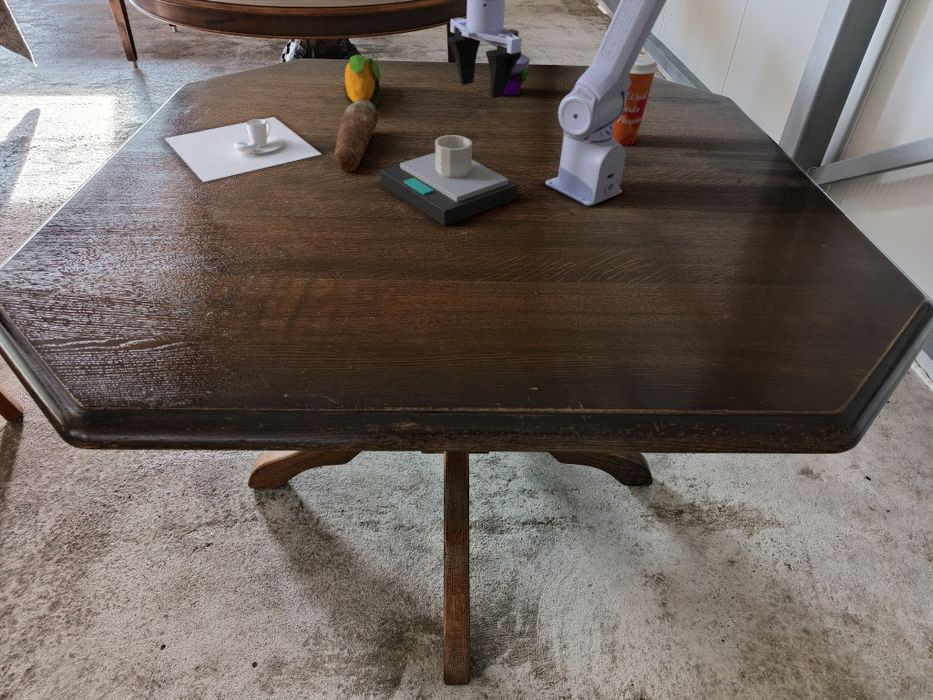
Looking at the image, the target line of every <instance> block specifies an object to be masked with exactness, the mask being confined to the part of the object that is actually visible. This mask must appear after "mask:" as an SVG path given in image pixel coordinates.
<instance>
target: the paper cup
mask: <svg viewBox="0 0 933 700" xmlns="http://www.w3.org/2000/svg"><path fill="white" fill-rule="evenodd" d="M658 71H659V67H658V63H657V61H656V59H655V58H654V57H652V56H650V55H647V54H644V53H643V54H642V53H639V55H638V57H637V59H636V61H635V63H634V65H633V67H632V69H631V71H630V73H629V78H630V80H631V85H630V87H629V89H628V91H627V95H626V106H625V110H624V112H623V114H622V115H621V116H620V118H618V119H617V120H616V121H615V123H614V131H613V137H614V139H615V140H616V141H617V142H618V143H619V144H621V145H622V146H630V145H633V144H635V142H636V140H637V138H638V134H639V130H640V127H641V123H642V120H643V117H644V113H645V109H646V106H647V102H648V98H649V94H650V91H651V88H652V83H653V80H654V76H655V73H656V72H658Z"/></svg>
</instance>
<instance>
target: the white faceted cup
mask: <svg viewBox="0 0 933 700" xmlns="http://www.w3.org/2000/svg"><path fill="white" fill-rule="evenodd" d="M434 153H435V169H436V171H438V173H439V174H440V175H442V176H445V177H450V178H457V177H462V176H465V175H466V174H467V173H468V172H469V171H470V170H471V163H472V160H473V159H472V158H473V142H472V140H471V139H470V138H468V137H467V136H463V135H457V134H446V135H442V136H439V137H437V138H436V139H435V140H434Z"/></svg>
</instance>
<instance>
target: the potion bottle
mask: <svg viewBox="0 0 933 700" xmlns="http://www.w3.org/2000/svg"><path fill="white" fill-rule="evenodd" d="M507 30H508V31H509V32H511V33H512V34H514V35H515V36H517V37H519V38H521V37H520V36H519V35H520V34H519V30H517V29H512V28H511V29H507ZM530 62H531V58H530V57H528V56H527V55H526V54H524V53H521V57H520V58H519V59H518V61H517V63H516V64H515V66H514V68H513V70H512V72H511V74H510V77H509V79H508V82H507V85H506V88H505V91H504V95H503V96H502V97H506V98H508V97H517V96H518V95H519V94H520V93H521V92H520V91H521V87H522V84H523V83H525V81H526V80H527V77H528V73H529V71H528V69H529V64H530Z"/></svg>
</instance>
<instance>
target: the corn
mask: <svg viewBox="0 0 933 700" xmlns="http://www.w3.org/2000/svg"><path fill="white" fill-rule="evenodd" d="M366 58H367V57H366V56H365V55H361V54H354V55H352V56H350V57H349V62H348V63H347V64H346V66H345V70H344V83H345V84H344V93H345V97H346V99H347V101H348V102H349V103H350V105H351V104H353V103H355V102H357V101H358V100H365V101H370V102H371V103H372V104H373V105H374V108H375V109H376V108H377V104H378V101H379V99H380V95H381V86H380V80H381V78H382V77H381V71H380V66H379V64H378V63H376V61H375V60H374V58H372V57H369V58H367V59H366Z"/></svg>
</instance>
